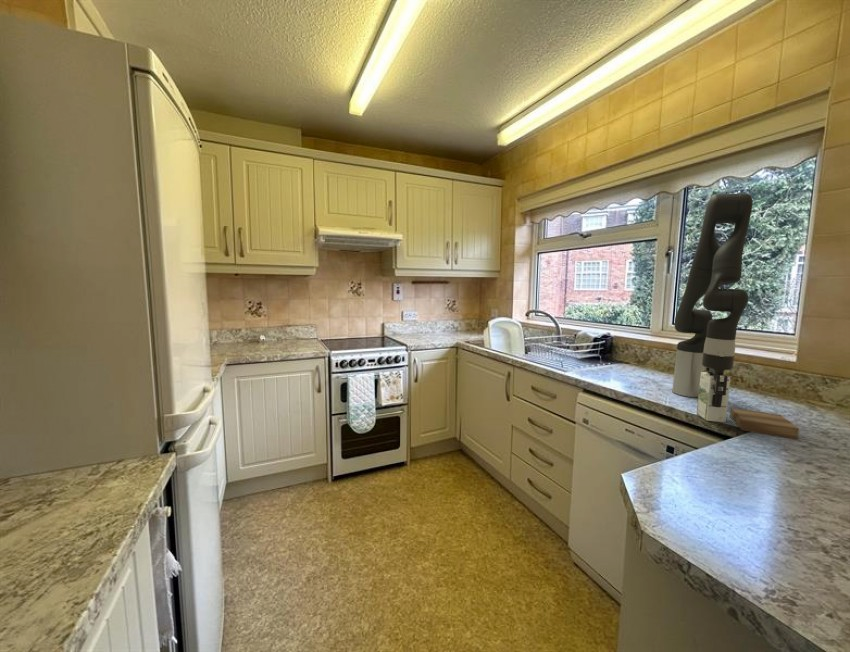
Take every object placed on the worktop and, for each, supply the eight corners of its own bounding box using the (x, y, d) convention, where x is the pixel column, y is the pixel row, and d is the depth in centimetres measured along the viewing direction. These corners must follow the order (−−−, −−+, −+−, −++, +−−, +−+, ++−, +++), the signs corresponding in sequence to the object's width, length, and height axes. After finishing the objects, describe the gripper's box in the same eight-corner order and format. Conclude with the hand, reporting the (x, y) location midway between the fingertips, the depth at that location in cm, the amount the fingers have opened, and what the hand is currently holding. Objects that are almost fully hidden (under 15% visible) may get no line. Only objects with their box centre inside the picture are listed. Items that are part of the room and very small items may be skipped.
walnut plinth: (729, 416, 115) (730, 407, 115) (779, 424, 110) (780, 414, 109) (741, 430, 105) (743, 420, 104) (797, 438, 99) (798, 428, 99)
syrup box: (726, 422, 110) (732, 377, 108) (705, 420, 111) (710, 375, 110) (715, 416, 116) (721, 372, 114) (695, 414, 117) (700, 371, 115)
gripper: (698, 348, 119) (693, 394, 121) (709, 355, 106) (703, 407, 108) (727, 350, 115) (721, 398, 117) (741, 358, 103) (734, 411, 105)
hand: (712, 402), depth 113 cm, fingers open, 8 cm apart
